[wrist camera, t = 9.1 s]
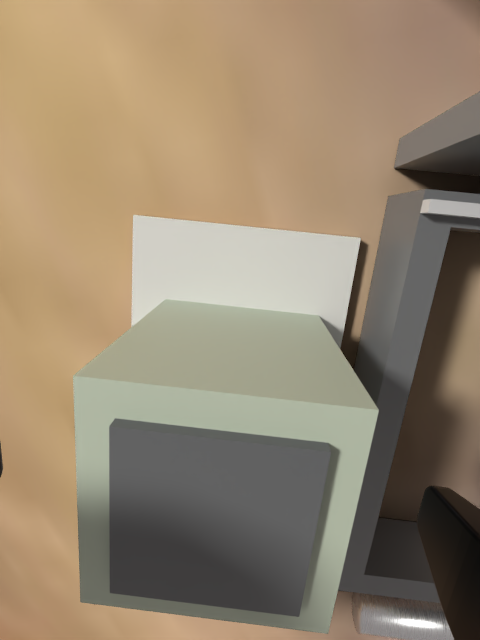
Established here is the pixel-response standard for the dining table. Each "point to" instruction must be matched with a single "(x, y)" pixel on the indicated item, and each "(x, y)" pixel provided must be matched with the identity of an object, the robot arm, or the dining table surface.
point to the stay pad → (242, 268)
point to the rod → (399, 618)
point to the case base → (398, 381)
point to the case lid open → (445, 142)
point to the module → (220, 466)
